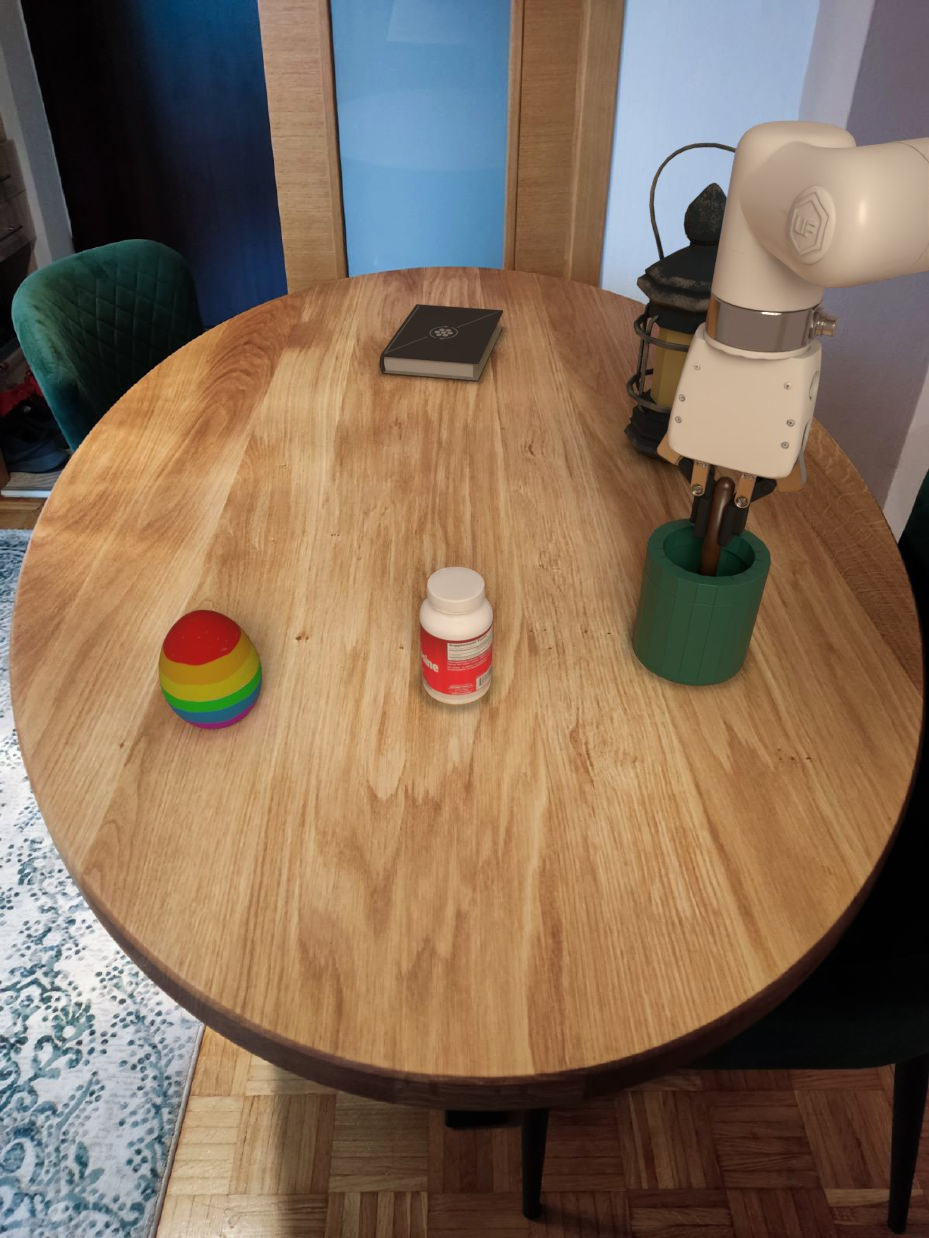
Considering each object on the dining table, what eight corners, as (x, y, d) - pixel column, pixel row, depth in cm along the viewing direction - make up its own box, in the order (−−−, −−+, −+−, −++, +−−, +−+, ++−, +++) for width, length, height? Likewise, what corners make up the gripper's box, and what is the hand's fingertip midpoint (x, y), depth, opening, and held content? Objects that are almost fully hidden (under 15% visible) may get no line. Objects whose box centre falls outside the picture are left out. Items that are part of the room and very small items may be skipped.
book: (415, 321, 146) (414, 303, 145) (502, 328, 144) (503, 310, 142) (379, 374, 130) (378, 354, 128) (478, 382, 128) (478, 362, 126)
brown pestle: (722, 625, 82) (758, 473, 72) (708, 649, 79) (743, 494, 69) (681, 611, 83) (711, 460, 73) (666, 634, 81) (694, 481, 71)
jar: (758, 635, 83) (785, 538, 76) (724, 700, 76) (750, 600, 69) (656, 602, 87) (672, 506, 80) (615, 660, 80) (629, 562, 73)
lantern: (745, 445, 112) (812, 138, 90) (702, 487, 104) (764, 161, 82) (644, 416, 119) (684, 123, 97) (596, 454, 111) (628, 143, 89)
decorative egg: (227, 662, 80) (207, 573, 74) (287, 702, 76) (271, 611, 70) (151, 711, 75) (122, 620, 69) (210, 756, 71) (186, 664, 65)
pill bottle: (418, 663, 80) (413, 564, 73) (484, 656, 81) (486, 557, 74) (426, 711, 75) (422, 609, 68) (497, 703, 76) (500, 602, 69)
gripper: (884, 324, 62) (819, 540, 74) (674, 286, 69) (644, 491, 80) (862, 360, 57) (796, 586, 69) (637, 316, 64) (611, 530, 75)
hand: (715, 534), depth 75 cm, fingers closed on brown pestle, 1 cm apart
